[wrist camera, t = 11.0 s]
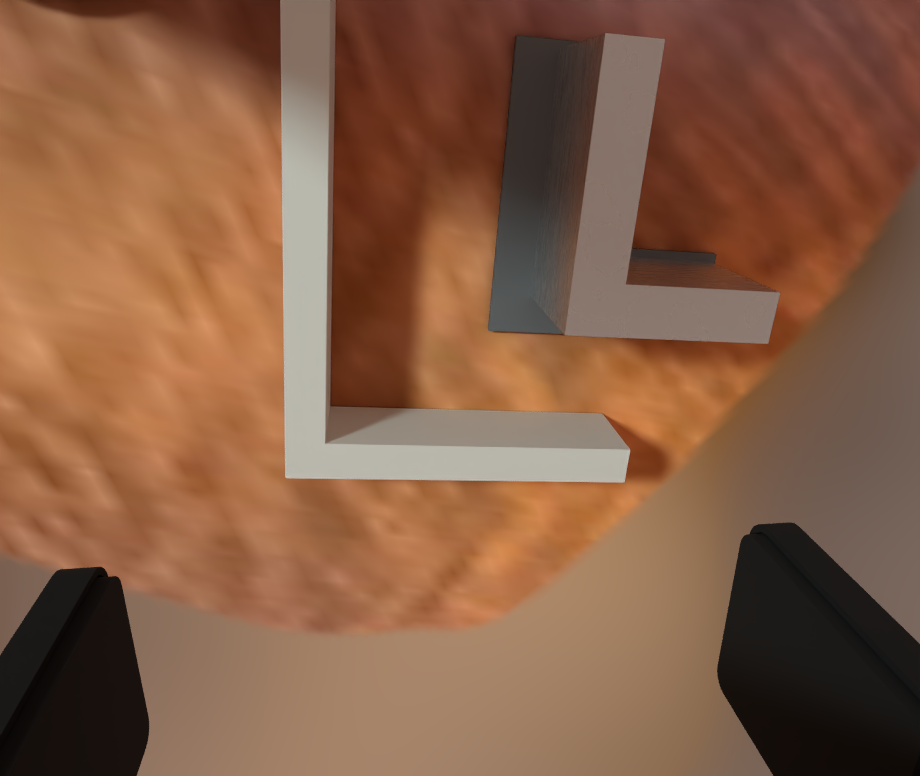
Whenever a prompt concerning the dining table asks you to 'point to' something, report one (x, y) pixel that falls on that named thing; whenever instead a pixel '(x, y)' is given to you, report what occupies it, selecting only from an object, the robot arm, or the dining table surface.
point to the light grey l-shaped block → (309, 329)
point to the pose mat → (531, 190)
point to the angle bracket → (622, 214)
